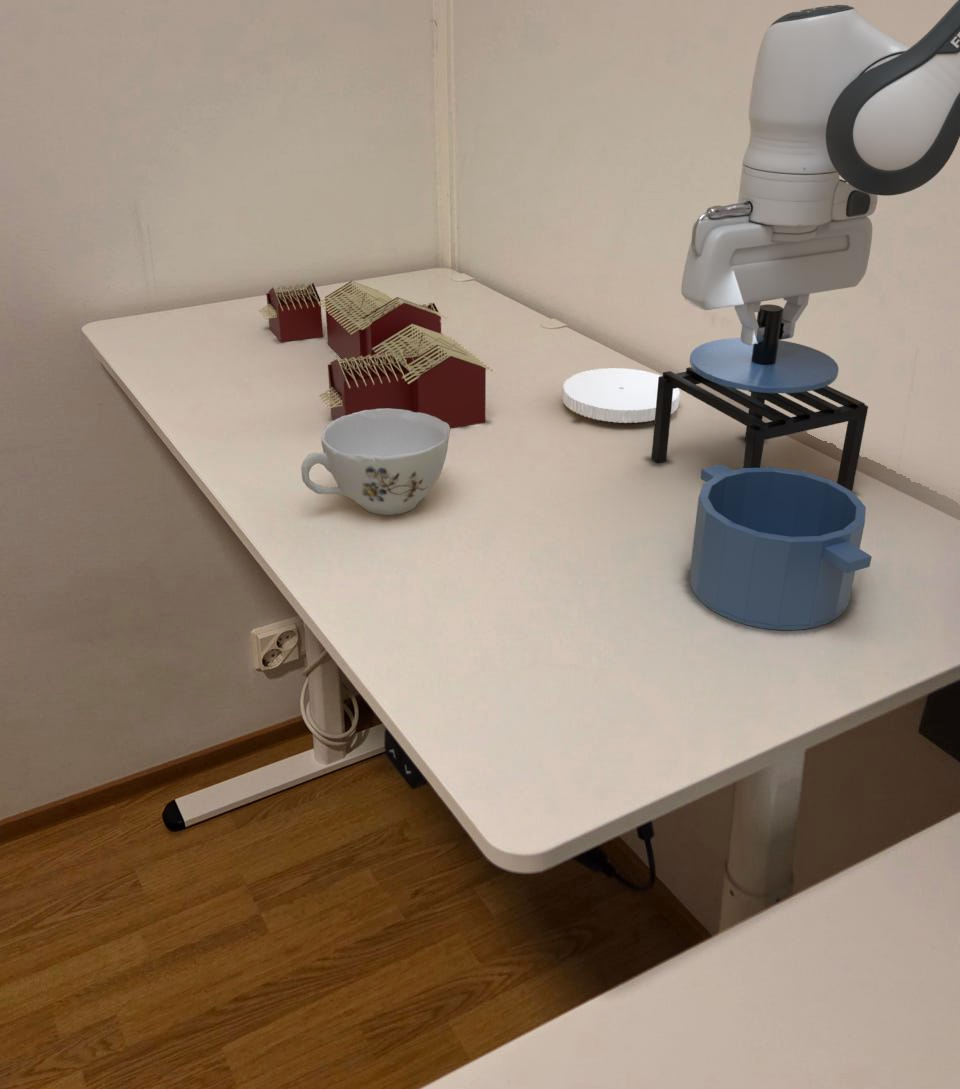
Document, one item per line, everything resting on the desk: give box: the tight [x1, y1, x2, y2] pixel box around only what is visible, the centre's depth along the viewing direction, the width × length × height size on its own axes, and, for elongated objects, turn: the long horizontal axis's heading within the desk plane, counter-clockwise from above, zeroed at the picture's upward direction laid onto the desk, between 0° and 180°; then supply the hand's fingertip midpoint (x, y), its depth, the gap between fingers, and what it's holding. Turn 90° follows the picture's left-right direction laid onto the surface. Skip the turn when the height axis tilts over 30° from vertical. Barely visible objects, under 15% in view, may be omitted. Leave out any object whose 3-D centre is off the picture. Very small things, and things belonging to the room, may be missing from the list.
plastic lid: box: [561, 367, 681, 424], centre depth 133 cm, size 14×14×2 cm
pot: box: [689, 464, 873, 631], centre depth 95 cm, size 14×19×8 cm
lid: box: [689, 303, 839, 394], centre depth 110 cm, size 15×15×7 cm
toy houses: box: [258, 280, 494, 429], centre depth 142 cm, size 45×20×10 cm, turn 24°
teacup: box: [301, 408, 452, 516], centre depth 109 cm, size 15×12×8 cm
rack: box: [650, 366, 869, 492], centre depth 115 cm, size 14×16×10 cm
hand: (766, 340), depth 110 cm, fingers closed on lid, 2 cm apart
